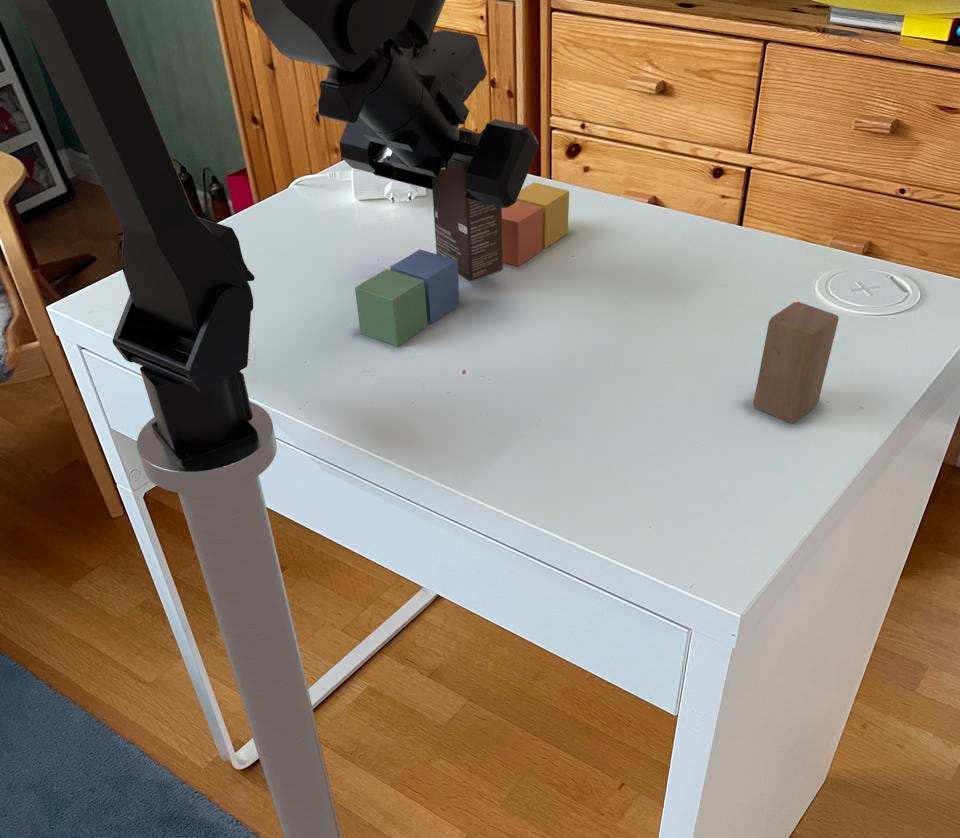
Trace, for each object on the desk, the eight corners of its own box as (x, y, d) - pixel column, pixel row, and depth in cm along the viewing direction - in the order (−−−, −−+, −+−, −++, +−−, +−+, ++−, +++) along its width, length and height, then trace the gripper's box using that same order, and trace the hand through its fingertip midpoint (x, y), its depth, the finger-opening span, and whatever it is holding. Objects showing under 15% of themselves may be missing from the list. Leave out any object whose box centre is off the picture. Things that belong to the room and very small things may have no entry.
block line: (397, 346, 90) (393, 300, 86) (360, 333, 91) (354, 287, 88) (568, 233, 106) (569, 190, 102) (533, 224, 108) (533, 182, 104)
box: (433, 263, 98) (426, 135, 90) (470, 252, 100) (466, 124, 92) (468, 285, 95) (463, 153, 86) (505, 272, 97) (504, 141, 88)
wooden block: (750, 408, 81) (767, 317, 75) (777, 388, 83) (795, 298, 77) (793, 426, 79) (814, 333, 73) (819, 405, 81) (841, 314, 75)
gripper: (528, 17, 75) (594, 131, 89) (344, -12, 83) (432, 97, 97) (469, 157, 76) (544, 248, 90) (294, 116, 84) (388, 205, 98)
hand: (476, 195), depth 94 cm, fingers closed on box, 7 cm apart
